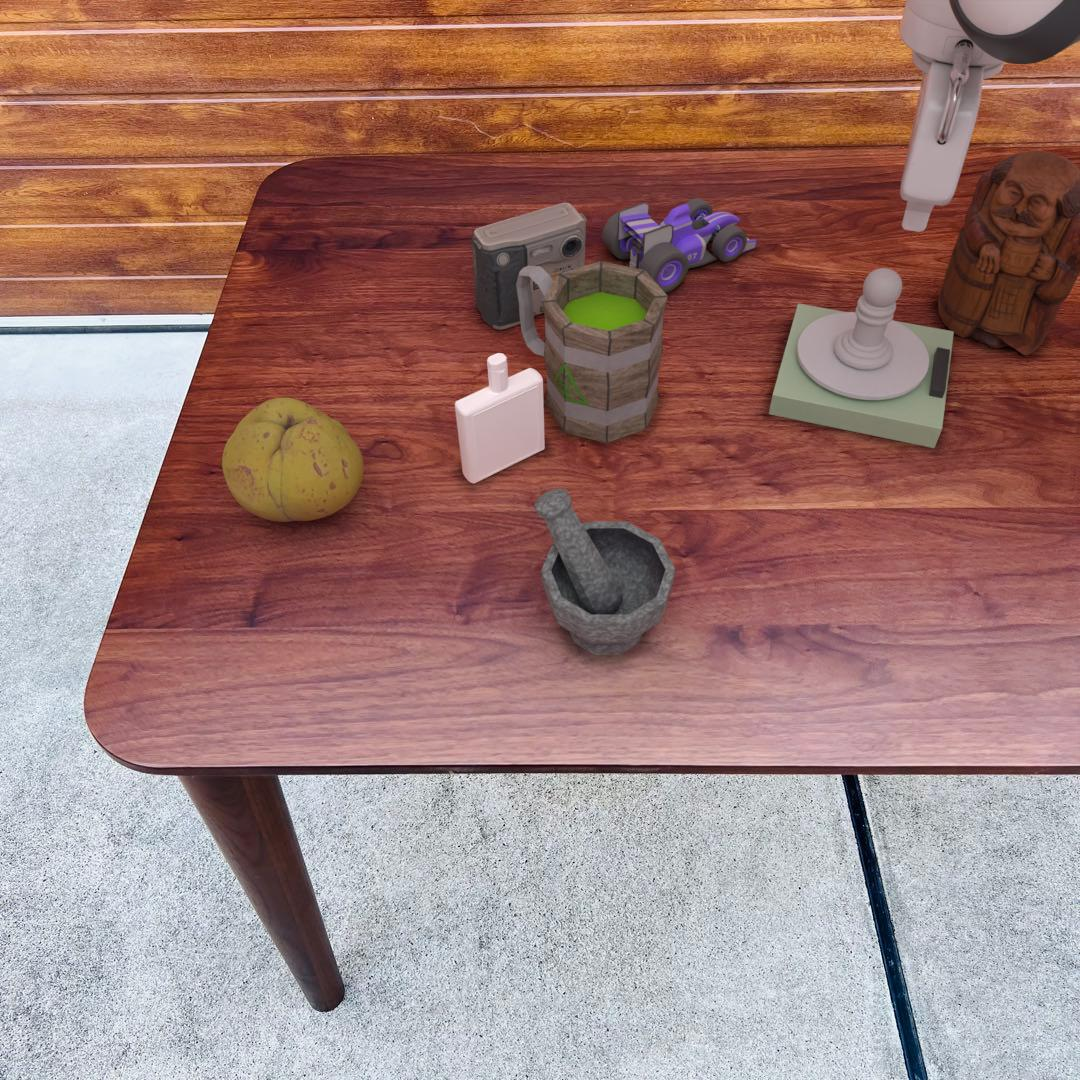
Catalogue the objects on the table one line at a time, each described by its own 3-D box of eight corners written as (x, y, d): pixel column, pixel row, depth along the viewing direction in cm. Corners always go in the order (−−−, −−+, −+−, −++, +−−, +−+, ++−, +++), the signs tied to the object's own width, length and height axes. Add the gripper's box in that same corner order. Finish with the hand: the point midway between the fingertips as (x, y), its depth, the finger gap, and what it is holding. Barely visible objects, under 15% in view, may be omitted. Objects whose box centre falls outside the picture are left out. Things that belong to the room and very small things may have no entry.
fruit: (264, 574, 83) (232, 493, 76) (224, 482, 90) (191, 399, 82) (388, 524, 86) (370, 442, 79) (341, 439, 93) (320, 356, 85)
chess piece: (889, 337, 95) (914, 255, 88) (893, 374, 92) (920, 293, 85) (831, 332, 96) (852, 251, 89) (833, 370, 92) (855, 288, 85)
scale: (946, 351, 99) (957, 322, 96) (934, 448, 91) (945, 420, 88) (793, 323, 102) (799, 294, 99) (768, 414, 94) (774, 385, 91)
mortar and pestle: (690, 613, 80) (706, 514, 70) (625, 696, 75) (632, 602, 66) (574, 549, 84) (575, 448, 75) (506, 624, 80) (497, 526, 70)
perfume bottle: (472, 486, 89) (460, 384, 80) (460, 473, 90) (448, 370, 81) (547, 449, 92) (545, 346, 82) (535, 436, 93) (531, 333, 83)
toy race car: (764, 255, 109) (773, 202, 104) (649, 301, 105) (653, 247, 100) (711, 213, 115) (718, 160, 110) (600, 255, 110) (601, 202, 105)
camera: (491, 336, 102) (484, 252, 94) (470, 304, 105) (462, 220, 98) (592, 305, 105) (594, 221, 97) (568, 275, 108) (568, 191, 100)
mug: (682, 399, 95) (694, 295, 86) (608, 460, 91) (612, 357, 81) (559, 329, 102) (558, 226, 93) (484, 382, 98) (475, 279, 88)
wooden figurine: (917, 322, 102) (973, 157, 88) (942, 290, 105) (999, 125, 91) (1034, 366, 97) (1112, 199, 83) (1056, 331, 100) (1134, 165, 86)
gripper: (1012, 88, 63) (950, 275, 73) (1023, -40, 75) (968, 136, 86) (907, 76, 64) (861, 261, 75) (935, -48, 76) (892, 126, 87)
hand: (919, 193), depth 80 cm, fingers open, 8 cm apart
